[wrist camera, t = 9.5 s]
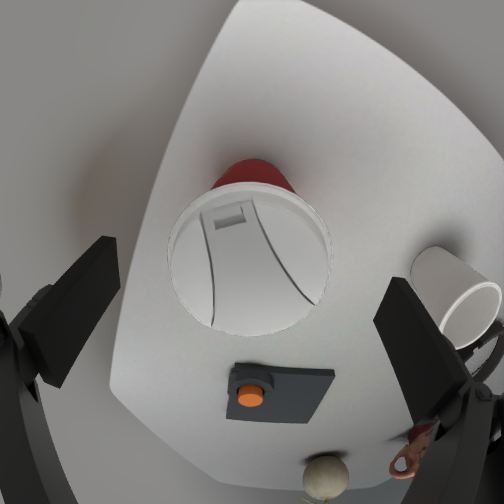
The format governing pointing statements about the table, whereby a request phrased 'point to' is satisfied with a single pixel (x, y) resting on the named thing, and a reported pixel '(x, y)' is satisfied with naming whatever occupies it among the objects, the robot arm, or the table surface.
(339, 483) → the fruit
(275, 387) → the scale
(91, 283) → the robot arm
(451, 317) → the dixie cup
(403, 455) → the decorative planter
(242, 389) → the button
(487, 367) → the headphones
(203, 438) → the table surface
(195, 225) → the coffee cup
